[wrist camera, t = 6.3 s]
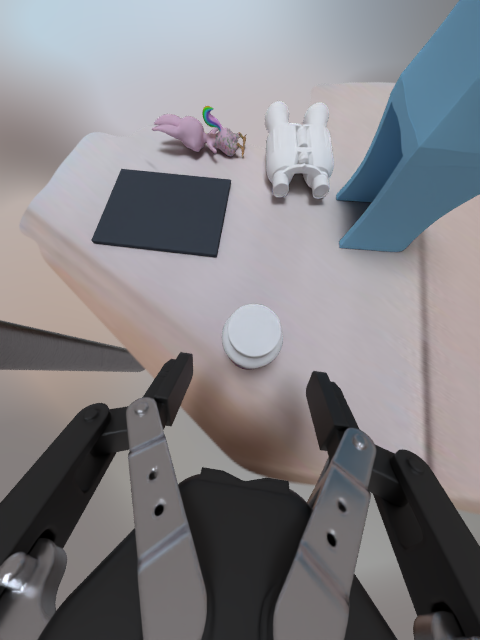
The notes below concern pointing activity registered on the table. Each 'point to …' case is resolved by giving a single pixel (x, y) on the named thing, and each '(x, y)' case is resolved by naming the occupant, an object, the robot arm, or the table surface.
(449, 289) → the table surface
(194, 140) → the pink figurine
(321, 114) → the binoculars
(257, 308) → the pill bottle
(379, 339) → the table surface
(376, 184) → the vase
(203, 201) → the mat
